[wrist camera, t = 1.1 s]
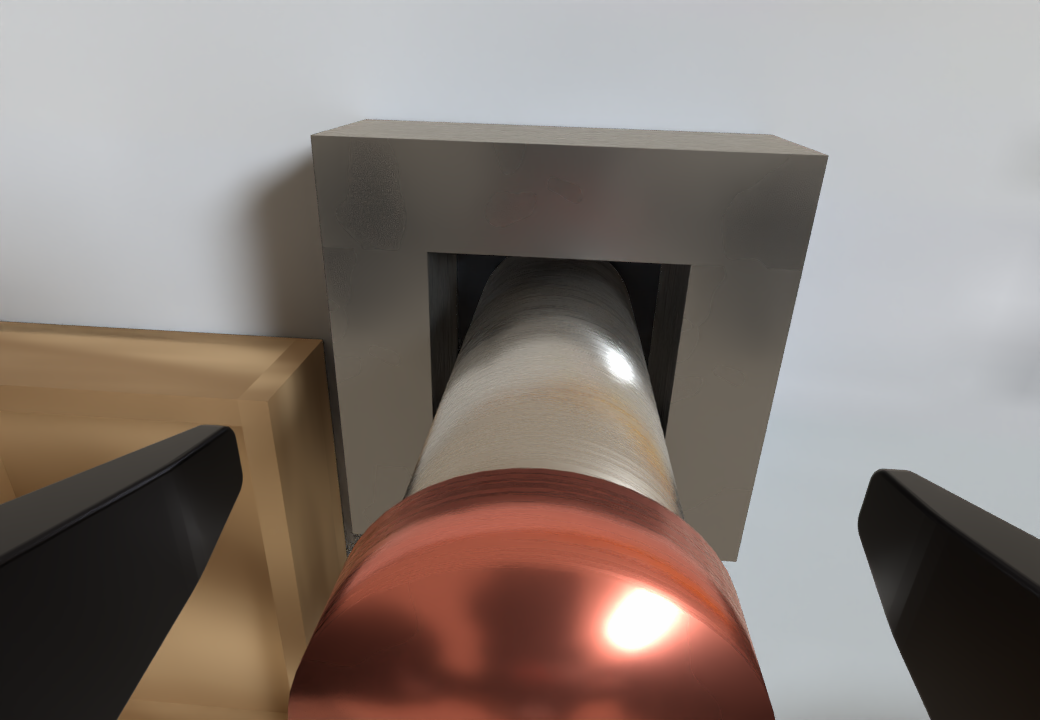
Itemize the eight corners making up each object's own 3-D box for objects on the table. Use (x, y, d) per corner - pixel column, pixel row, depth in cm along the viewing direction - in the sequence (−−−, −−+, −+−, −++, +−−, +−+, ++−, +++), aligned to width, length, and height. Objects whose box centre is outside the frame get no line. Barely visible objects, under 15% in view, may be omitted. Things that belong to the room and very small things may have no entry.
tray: (364, 714, 21) (333, 813, 18) (91, 690, 21) (20, 782, 18) (322, 339, 15) (267, 401, 12) (-51, 318, 15) (-183, 373, 13)
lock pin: (634, 399, 15) (731, 908, 6) (466, 389, 15) (314, 867, 6) (655, 231, 13) (833, 589, 4) (465, 223, 14) (254, 548, 4)
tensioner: (674, 655, 18) (691, 757, 16) (401, 633, 19) (373, 728, 16) (771, 135, 12) (828, 155, 10) (365, 119, 13) (310, 134, 10)
